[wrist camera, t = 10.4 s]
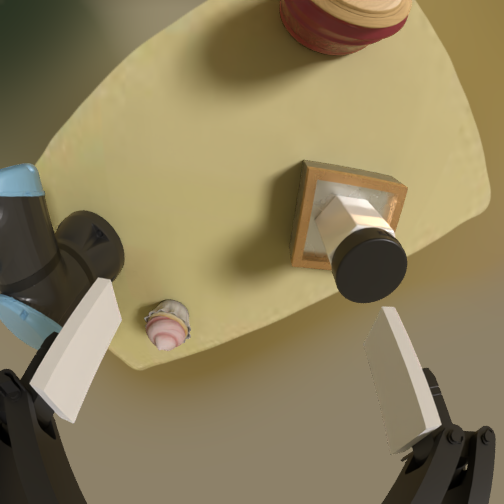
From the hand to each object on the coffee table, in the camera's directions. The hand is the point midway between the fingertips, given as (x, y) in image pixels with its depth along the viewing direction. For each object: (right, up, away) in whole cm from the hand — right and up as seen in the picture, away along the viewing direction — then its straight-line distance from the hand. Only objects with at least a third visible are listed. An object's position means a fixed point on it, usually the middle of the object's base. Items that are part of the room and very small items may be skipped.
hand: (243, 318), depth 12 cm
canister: (+10, +35, +12) cm, 38 cm away
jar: (+13, +7, +24) cm, 28 cm away
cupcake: (-15, -9, +40) cm, 43 cm away
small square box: (+14, +9, +27) cm, 32 cm away
